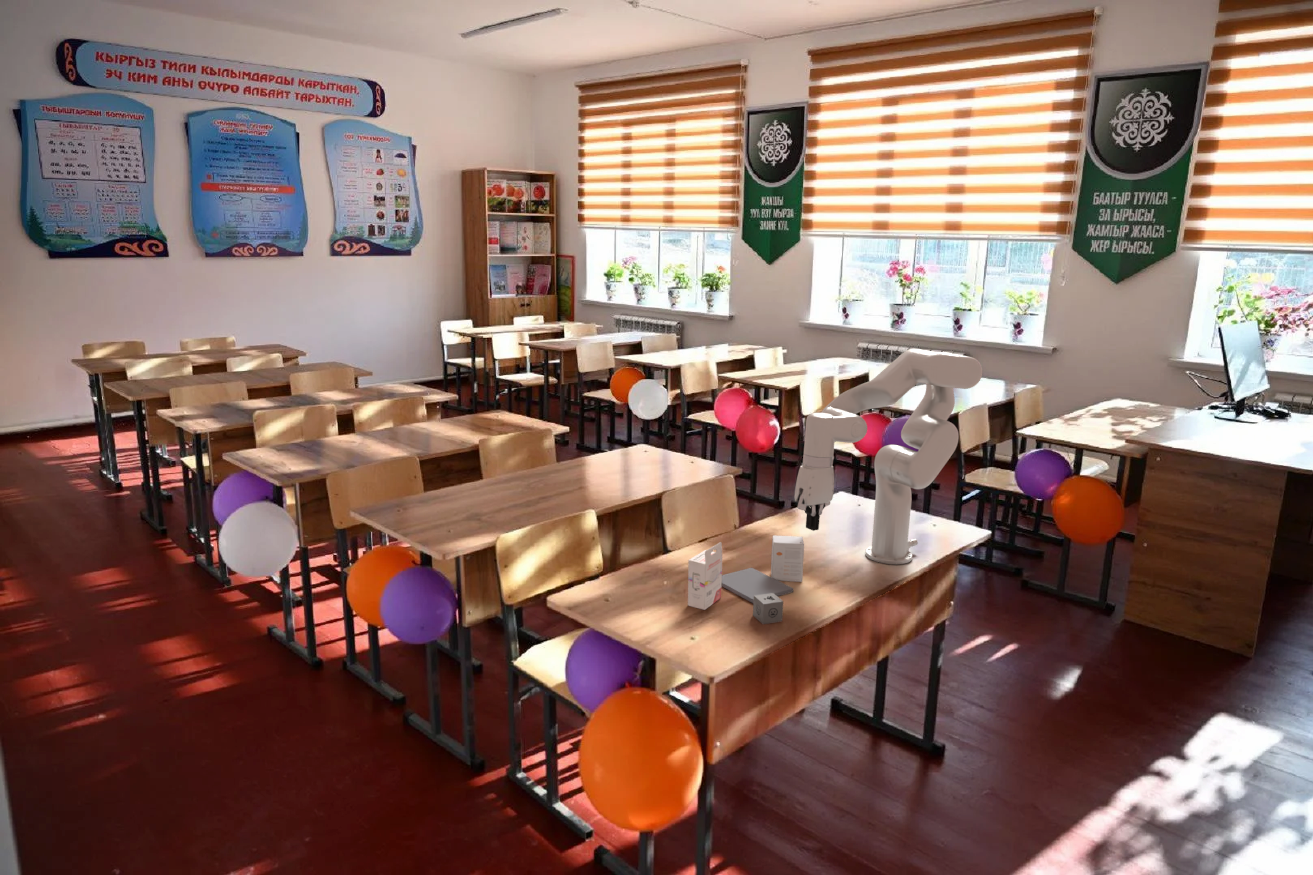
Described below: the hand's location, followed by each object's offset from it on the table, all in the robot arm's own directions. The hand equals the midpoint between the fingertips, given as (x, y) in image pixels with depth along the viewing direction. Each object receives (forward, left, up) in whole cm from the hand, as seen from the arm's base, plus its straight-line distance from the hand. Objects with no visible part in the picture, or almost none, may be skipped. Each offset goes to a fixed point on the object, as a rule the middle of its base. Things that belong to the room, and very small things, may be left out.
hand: (812, 528), depth 226 cm
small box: (+8, 0, -12) cm, 15 cm away
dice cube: (+29, +16, -12) cm, 35 cm away
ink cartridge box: (+36, +1, -12) cm, 38 cm away
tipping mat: (+20, 0, -12) cm, 23 cm away
